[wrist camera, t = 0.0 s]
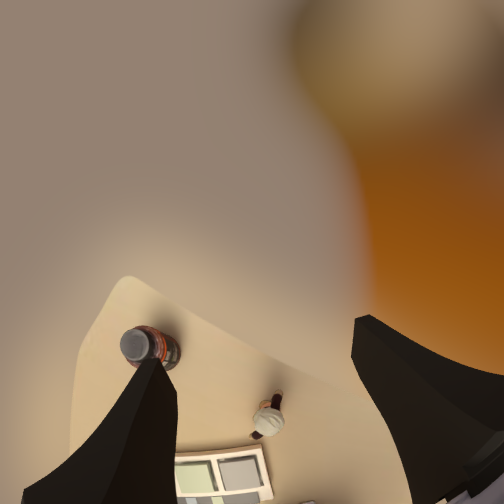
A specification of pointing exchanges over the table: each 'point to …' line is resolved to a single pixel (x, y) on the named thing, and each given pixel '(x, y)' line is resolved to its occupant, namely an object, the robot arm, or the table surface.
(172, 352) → the supplement bottle
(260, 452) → the keypad
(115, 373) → the table surface
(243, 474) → the grey key
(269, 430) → the grandmother figurine
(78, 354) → the table surface
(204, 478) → the sage key
